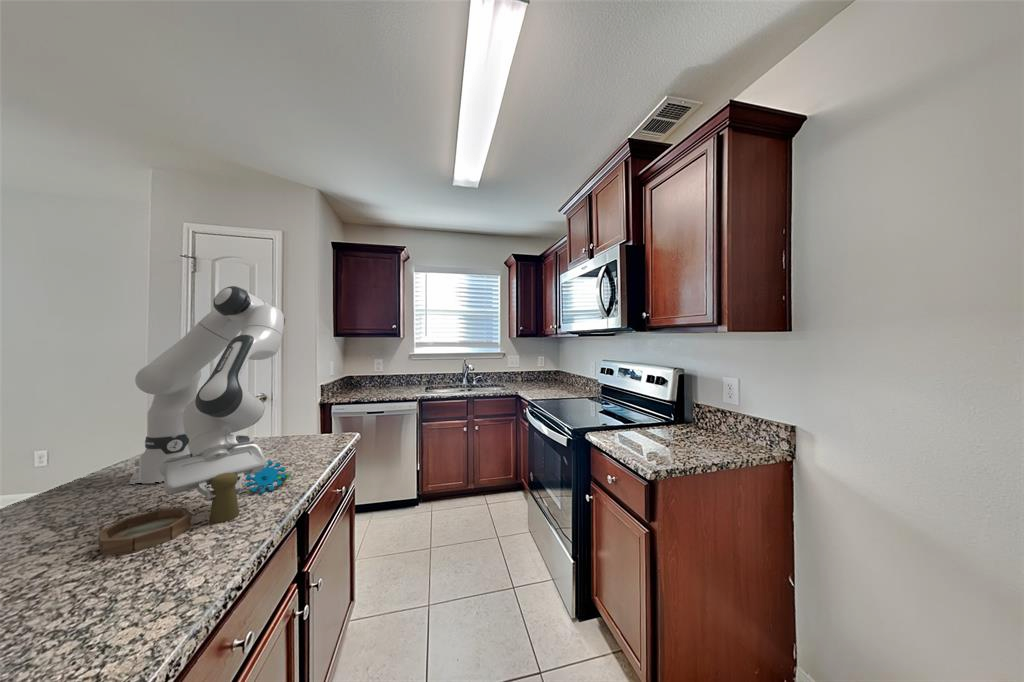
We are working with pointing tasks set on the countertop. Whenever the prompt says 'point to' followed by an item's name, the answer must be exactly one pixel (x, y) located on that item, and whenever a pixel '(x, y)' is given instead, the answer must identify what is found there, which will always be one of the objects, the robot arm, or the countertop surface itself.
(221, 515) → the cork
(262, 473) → the gear
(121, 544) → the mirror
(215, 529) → the countertop surface
